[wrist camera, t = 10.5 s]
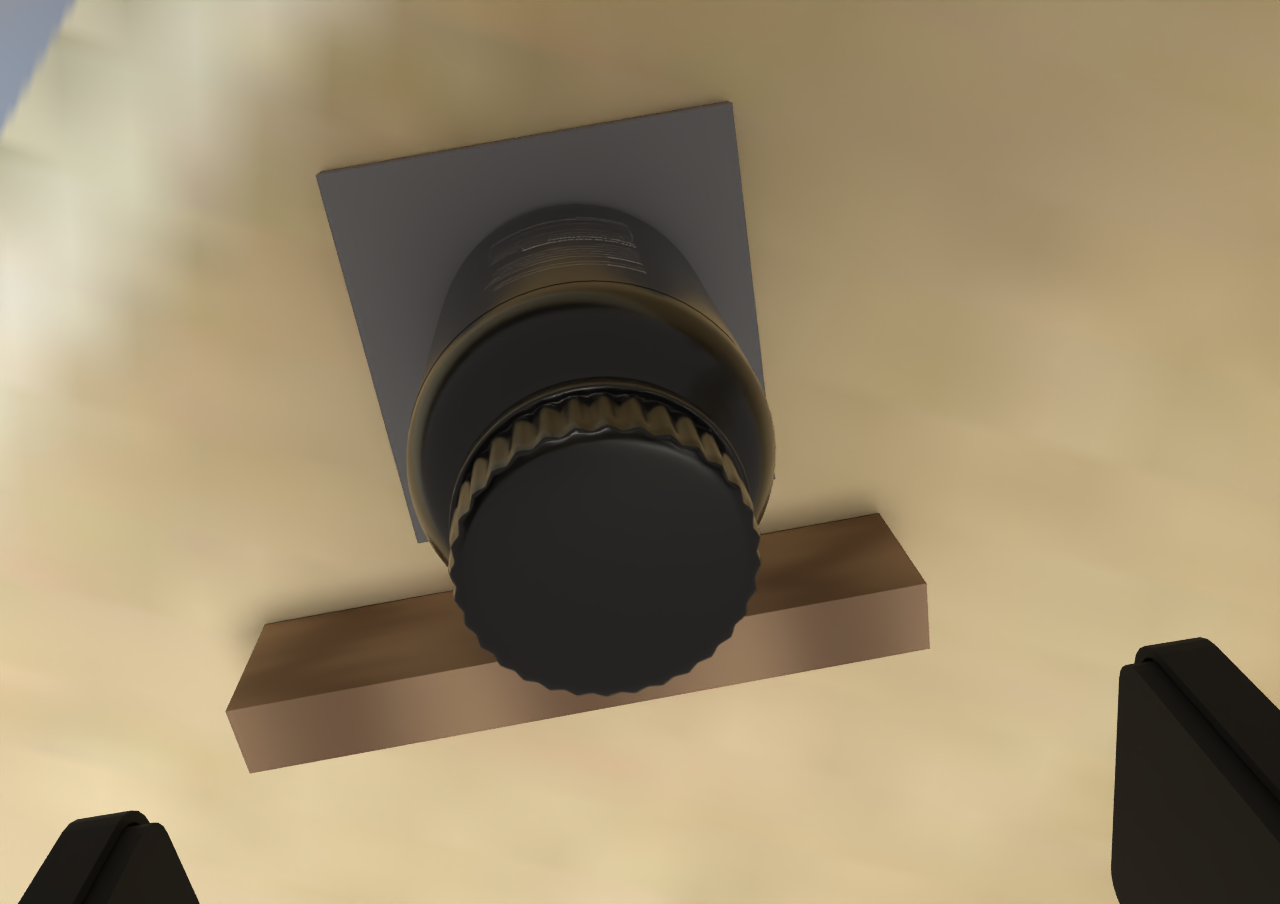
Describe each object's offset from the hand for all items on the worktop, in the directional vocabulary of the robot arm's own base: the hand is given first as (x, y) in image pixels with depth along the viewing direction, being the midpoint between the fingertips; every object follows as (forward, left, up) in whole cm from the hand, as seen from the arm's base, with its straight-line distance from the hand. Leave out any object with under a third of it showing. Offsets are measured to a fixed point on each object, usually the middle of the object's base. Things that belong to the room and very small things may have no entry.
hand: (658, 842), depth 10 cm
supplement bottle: (0, 0, -18) cm, 18 cm away
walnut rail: (+2, +8, -18) cm, 20 cm away
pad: (+1, 0, -18) cm, 18 cm away
